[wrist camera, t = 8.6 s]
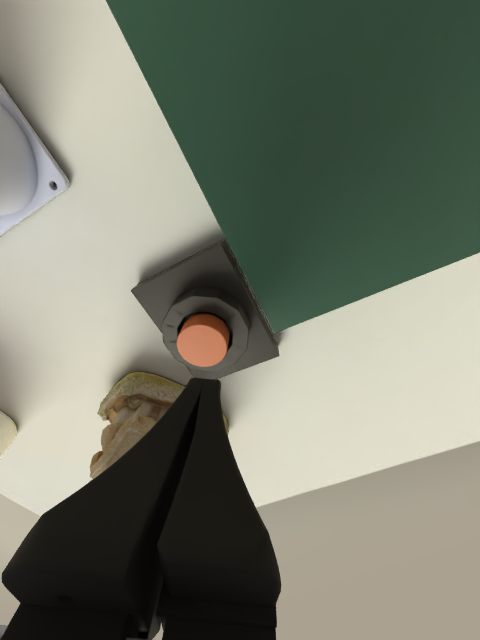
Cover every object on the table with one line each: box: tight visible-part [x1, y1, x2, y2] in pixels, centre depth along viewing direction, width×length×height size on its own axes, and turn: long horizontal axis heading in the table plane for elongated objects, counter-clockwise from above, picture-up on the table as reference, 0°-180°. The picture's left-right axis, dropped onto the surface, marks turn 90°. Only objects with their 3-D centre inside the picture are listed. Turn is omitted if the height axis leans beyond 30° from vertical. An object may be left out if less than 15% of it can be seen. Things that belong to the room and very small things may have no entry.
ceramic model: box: [90, 372, 229, 479], centre depth 23 cm, size 14×11×10 cm
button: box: [177, 313, 229, 367], centre depth 18 cm, size 4×4×2 cm
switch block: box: [131, 240, 279, 380], centre depth 20 cm, size 8×10×3 cm
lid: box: [106, 0, 480, 333], centre depth 10 cm, size 14×11×1 cm
